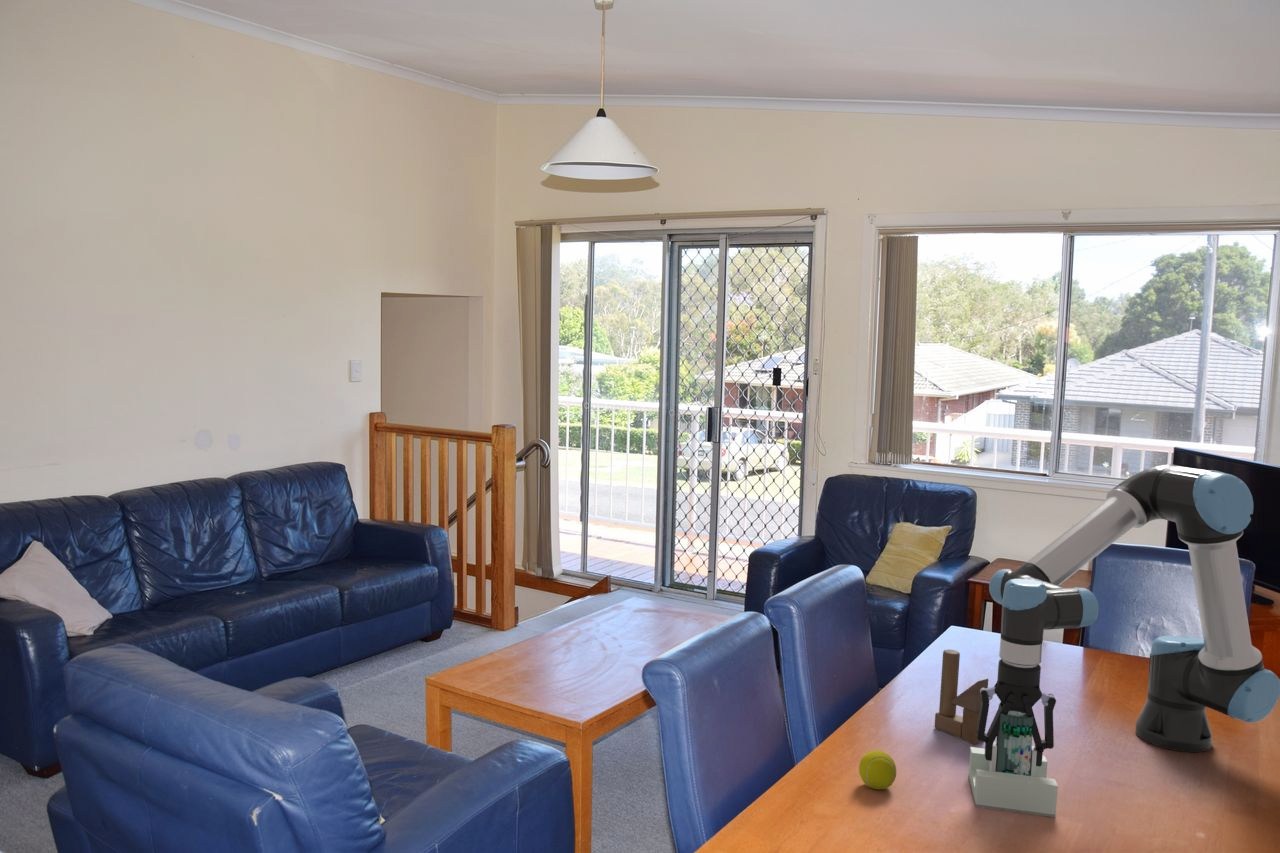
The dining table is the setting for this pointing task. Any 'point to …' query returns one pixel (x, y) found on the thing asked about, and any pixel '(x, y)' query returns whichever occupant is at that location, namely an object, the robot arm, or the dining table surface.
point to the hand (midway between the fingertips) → (1011, 778)
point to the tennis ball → (877, 770)
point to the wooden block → (958, 701)
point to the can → (1014, 743)
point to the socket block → (1011, 788)
